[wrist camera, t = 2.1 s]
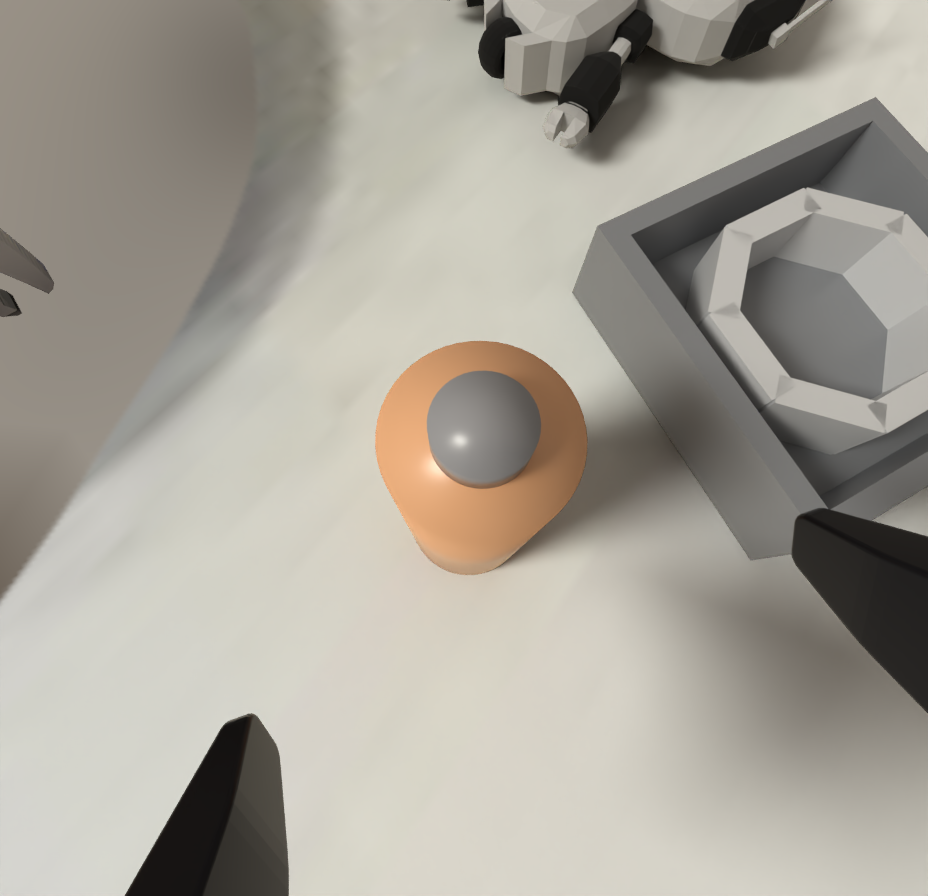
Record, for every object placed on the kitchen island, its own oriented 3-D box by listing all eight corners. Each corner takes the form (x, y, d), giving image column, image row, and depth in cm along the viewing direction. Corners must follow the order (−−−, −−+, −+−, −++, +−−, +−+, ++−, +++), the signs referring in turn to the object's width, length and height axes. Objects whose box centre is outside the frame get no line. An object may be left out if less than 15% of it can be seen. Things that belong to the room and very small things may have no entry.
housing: (1002, 409, 21) (1125, 365, 17) (750, 560, 19) (825, 548, 15) (807, 179, 24) (875, 97, 20) (572, 292, 22) (597, 226, 18)
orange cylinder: (545, 540, 19) (642, 468, 9) (444, 596, 19) (435, 583, 9) (490, 444, 20) (525, 287, 10) (392, 494, 20) (331, 379, 10)
